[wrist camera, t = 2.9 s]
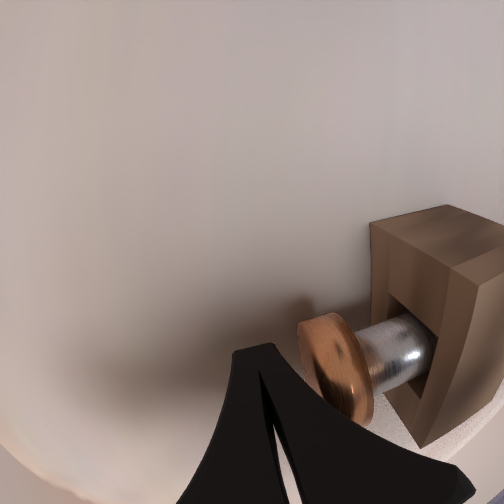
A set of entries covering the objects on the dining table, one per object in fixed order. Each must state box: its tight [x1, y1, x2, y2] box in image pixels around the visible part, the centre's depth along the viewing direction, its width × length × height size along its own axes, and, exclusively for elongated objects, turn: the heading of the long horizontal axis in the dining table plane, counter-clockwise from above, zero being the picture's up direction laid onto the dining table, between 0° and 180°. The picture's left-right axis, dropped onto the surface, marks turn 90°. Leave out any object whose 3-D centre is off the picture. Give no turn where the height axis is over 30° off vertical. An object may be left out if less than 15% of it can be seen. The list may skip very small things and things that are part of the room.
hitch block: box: [370, 205, 504, 449], centre depth 8 cm, size 4×7×5 cm, turn 11°
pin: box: [297, 311, 439, 427], centre depth 8 cm, size 6×4×4 cm, turn 101°
